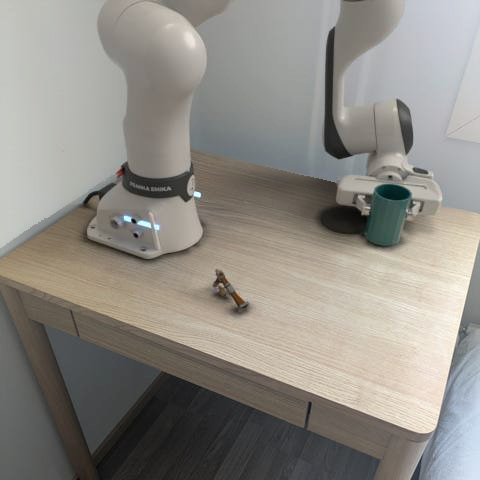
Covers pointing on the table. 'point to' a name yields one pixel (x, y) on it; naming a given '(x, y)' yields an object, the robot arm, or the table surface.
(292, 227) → the table surface
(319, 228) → the table surface
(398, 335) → the table surface
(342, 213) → the coaster
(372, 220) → the cup
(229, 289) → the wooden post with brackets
